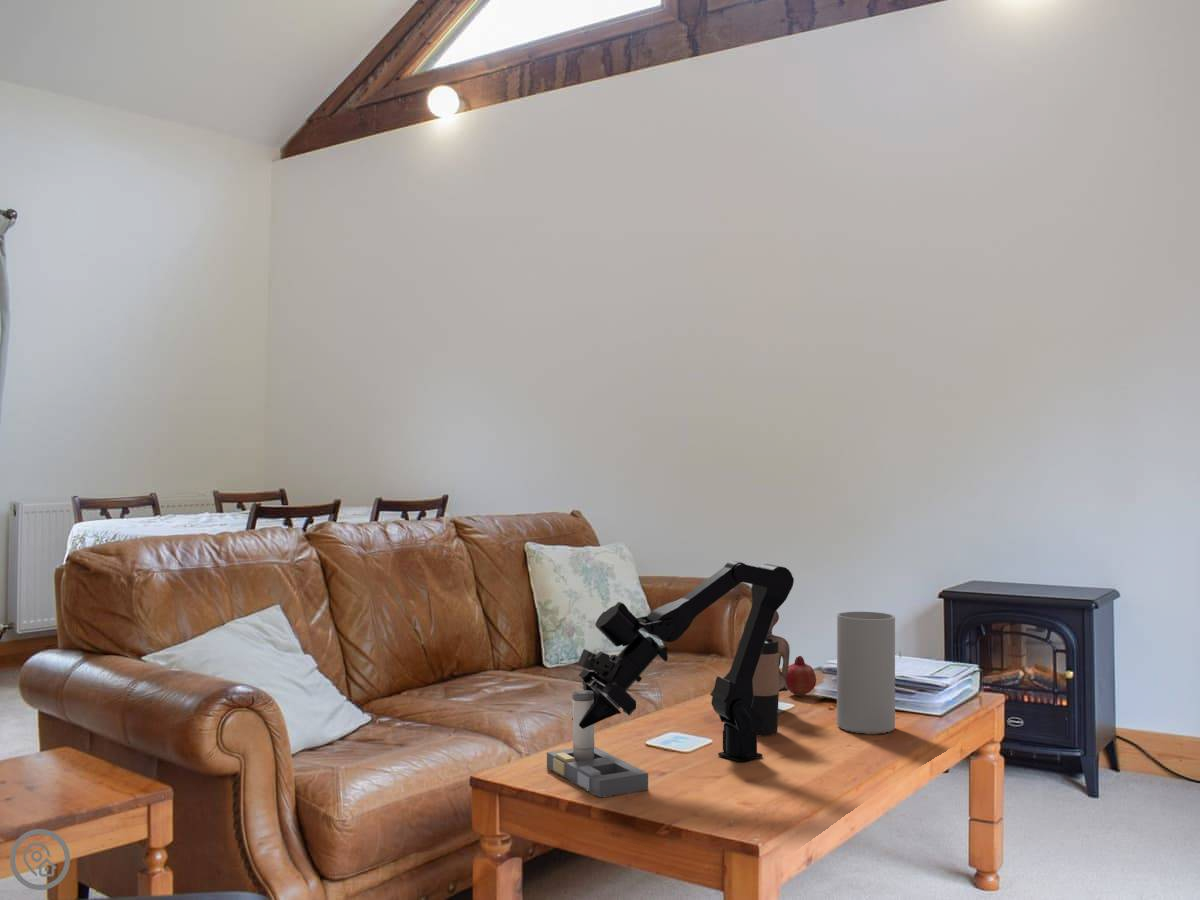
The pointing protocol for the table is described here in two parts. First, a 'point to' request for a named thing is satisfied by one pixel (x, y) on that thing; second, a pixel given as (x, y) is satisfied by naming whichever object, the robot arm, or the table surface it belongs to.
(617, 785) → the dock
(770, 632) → the clay figurine
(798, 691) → the fruit
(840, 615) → the cylinder vase
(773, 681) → the travel mug
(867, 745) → the table surface
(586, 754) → the white dome-top cylinder
